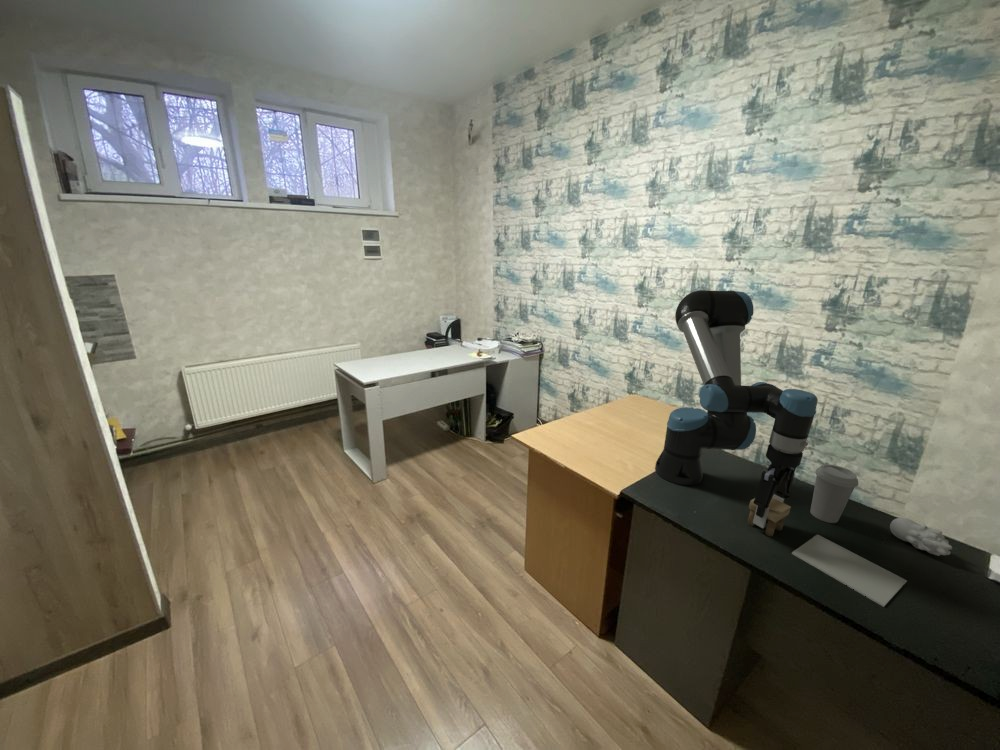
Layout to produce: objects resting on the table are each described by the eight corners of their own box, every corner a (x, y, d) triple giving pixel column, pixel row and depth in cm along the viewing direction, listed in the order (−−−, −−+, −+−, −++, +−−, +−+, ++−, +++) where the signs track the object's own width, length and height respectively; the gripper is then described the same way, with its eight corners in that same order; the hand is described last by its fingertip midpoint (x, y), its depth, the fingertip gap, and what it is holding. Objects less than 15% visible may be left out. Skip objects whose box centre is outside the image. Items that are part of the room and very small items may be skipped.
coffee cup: (853, 529, 109) (869, 482, 105) (814, 523, 111) (829, 478, 106) (832, 508, 118) (846, 464, 114) (797, 503, 120) (810, 460, 115)
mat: (791, 553, 99) (791, 552, 99) (816, 535, 106) (817, 534, 106) (883, 607, 85) (884, 605, 84) (906, 581, 91) (907, 580, 91)
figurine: (901, 520, 109) (963, 546, 98) (888, 538, 109) (948, 567, 98) (895, 508, 106) (958, 534, 95) (881, 527, 106) (942, 556, 95)
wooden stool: (744, 522, 111) (750, 500, 108) (758, 515, 114) (763, 493, 112) (771, 537, 105) (777, 514, 103) (784, 529, 108) (791, 506, 106)
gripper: (782, 463, 94) (760, 541, 101) (820, 445, 104) (798, 517, 111) (750, 450, 100) (732, 524, 107) (788, 434, 110) (770, 502, 117)
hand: (765, 520), depth 109 cm, fingers closed on wooden stool, 7 cm apart
